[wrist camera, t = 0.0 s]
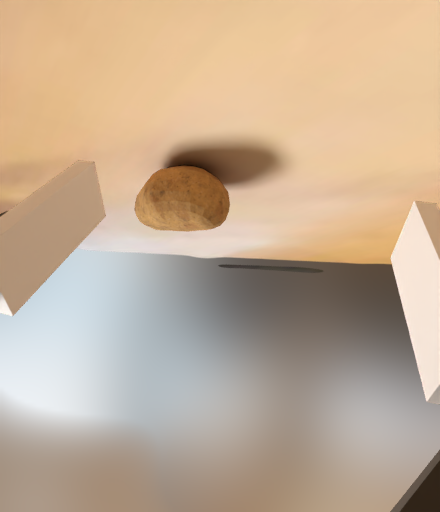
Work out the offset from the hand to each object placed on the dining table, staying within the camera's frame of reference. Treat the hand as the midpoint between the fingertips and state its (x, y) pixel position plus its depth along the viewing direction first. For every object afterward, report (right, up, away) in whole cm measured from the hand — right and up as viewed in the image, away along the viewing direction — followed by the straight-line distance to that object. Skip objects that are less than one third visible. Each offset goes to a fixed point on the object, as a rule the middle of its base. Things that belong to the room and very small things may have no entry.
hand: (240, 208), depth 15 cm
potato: (-5, +9, +31) cm, 32 cm away
